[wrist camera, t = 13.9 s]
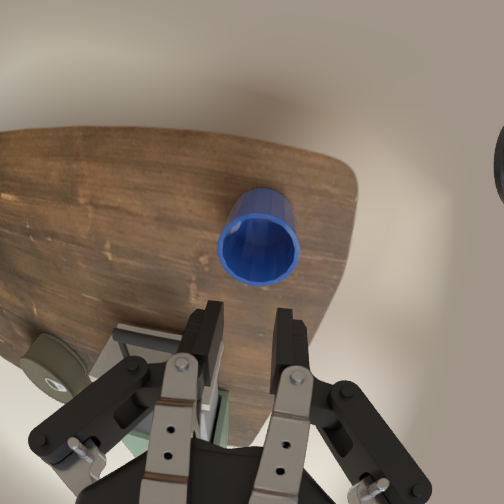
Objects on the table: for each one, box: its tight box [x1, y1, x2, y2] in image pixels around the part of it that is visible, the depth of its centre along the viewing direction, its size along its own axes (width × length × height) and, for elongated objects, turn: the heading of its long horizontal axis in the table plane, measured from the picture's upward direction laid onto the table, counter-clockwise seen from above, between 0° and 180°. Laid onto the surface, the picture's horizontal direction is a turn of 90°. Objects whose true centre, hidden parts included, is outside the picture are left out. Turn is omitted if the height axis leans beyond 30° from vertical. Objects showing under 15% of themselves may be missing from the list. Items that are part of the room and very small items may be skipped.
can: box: [20, 333, 88, 404], centre depth 38 cm, size 12×12×7 cm
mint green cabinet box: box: [122, 390, 229, 458], centre depth 38 cm, size 16×15×11 cm
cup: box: [218, 188, 300, 286], centre depth 23 cm, size 6×6×6 cm
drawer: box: [89, 324, 224, 442], centre depth 31 cm, size 20×14×9 cm
